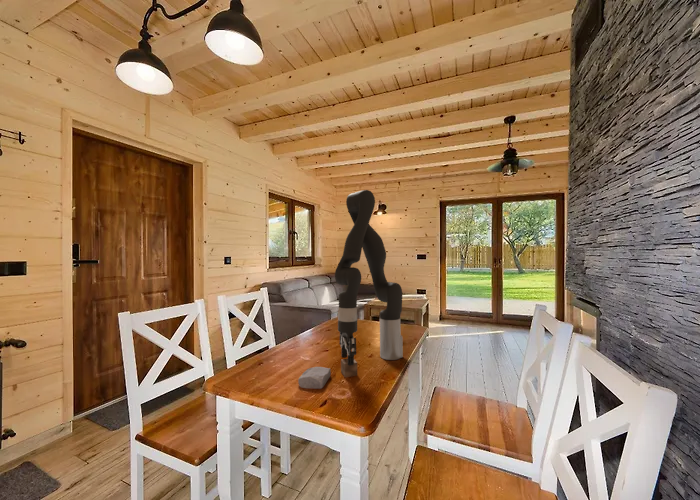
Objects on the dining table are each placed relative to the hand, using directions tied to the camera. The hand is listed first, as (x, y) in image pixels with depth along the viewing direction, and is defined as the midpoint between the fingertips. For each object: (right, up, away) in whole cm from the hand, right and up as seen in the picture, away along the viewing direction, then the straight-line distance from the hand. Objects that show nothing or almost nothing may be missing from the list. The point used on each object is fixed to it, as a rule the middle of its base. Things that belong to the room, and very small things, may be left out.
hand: (347, 361), depth 110 cm
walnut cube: (+1, -5, 0) cm, 5 cm away
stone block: (-12, -6, -6) cm, 14 cm away
